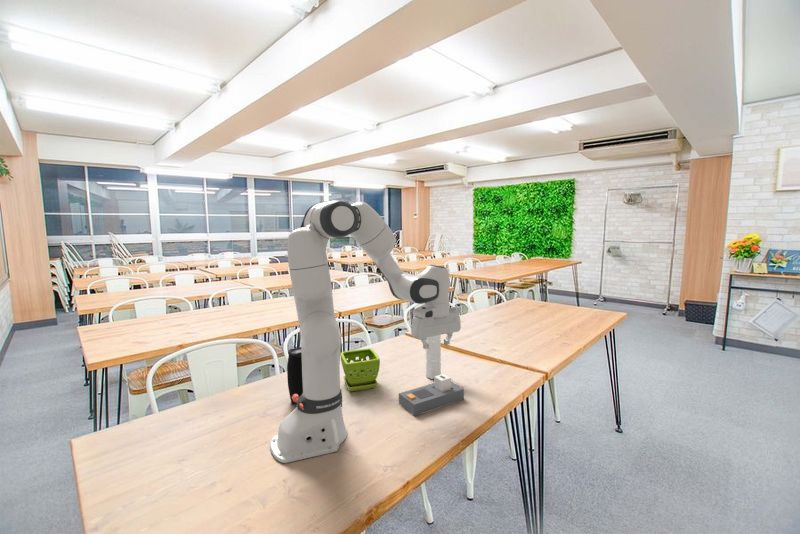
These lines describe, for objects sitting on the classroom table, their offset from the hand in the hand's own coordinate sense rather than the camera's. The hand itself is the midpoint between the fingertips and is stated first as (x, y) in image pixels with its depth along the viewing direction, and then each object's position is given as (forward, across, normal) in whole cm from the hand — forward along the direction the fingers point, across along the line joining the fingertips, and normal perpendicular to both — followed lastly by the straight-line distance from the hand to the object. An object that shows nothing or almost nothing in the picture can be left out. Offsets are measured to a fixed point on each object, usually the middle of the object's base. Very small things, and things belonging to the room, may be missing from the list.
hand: (436, 346), depth 132 cm
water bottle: (+20, -12, -17) cm, 29 cm away
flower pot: (+20, +19, -26) cm, 38 cm away
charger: (+19, -2, +1) cm, 19 cm away
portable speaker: (+21, +43, -25) cm, 54 cm away
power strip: (+20, +3, +1) cm, 20 cm away
